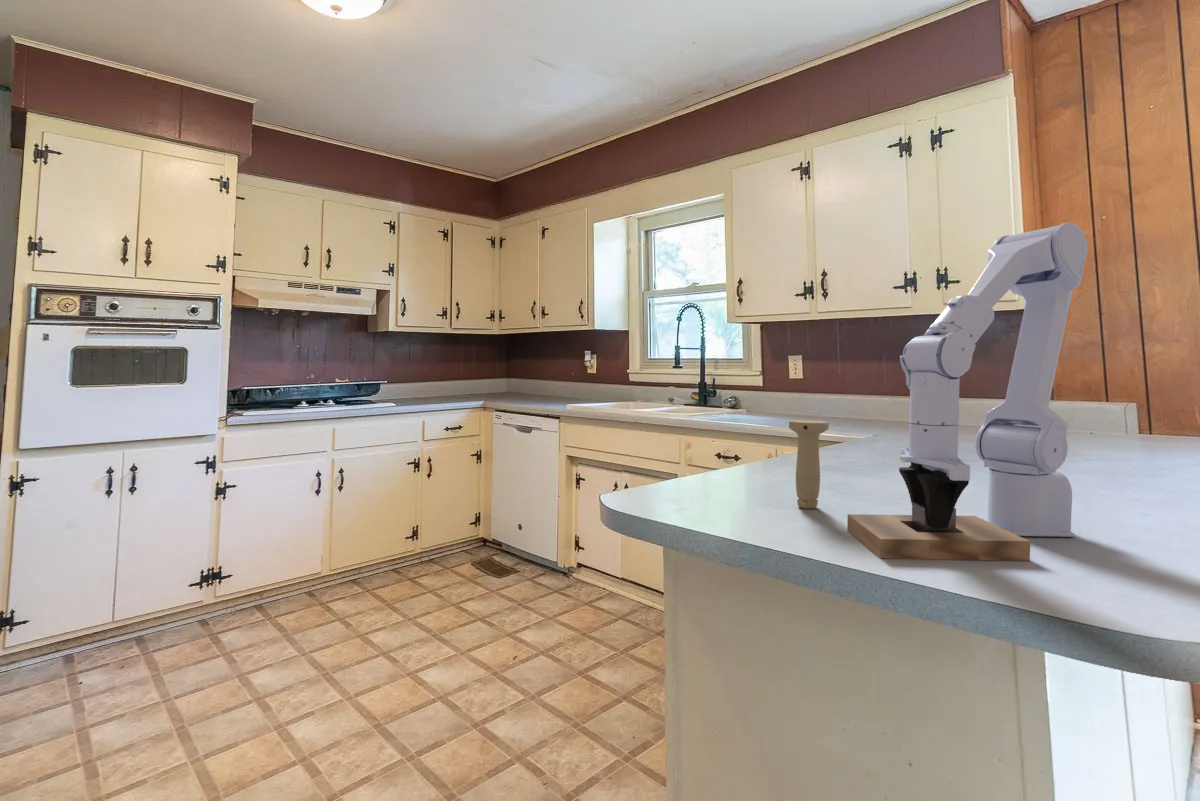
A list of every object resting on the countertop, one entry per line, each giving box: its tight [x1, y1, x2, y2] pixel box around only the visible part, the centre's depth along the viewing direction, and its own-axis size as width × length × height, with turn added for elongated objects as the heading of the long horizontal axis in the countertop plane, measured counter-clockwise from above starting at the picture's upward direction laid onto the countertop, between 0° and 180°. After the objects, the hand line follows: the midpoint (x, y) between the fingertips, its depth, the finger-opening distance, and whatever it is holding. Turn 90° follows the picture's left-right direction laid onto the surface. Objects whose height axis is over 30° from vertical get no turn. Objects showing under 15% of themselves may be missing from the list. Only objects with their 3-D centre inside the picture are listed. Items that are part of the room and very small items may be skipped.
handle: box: [788, 419, 830, 510], centre depth 98 cm, size 5×6×15 cm
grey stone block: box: [911, 502, 957, 533], centre depth 77 cm, size 4×4×6 cm
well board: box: [846, 513, 1031, 562], centre depth 77 cm, size 18×12×2 cm, turn 85°
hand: (930, 522), depth 77 cm, fingers closed on grey stone block, 3 cm apart
